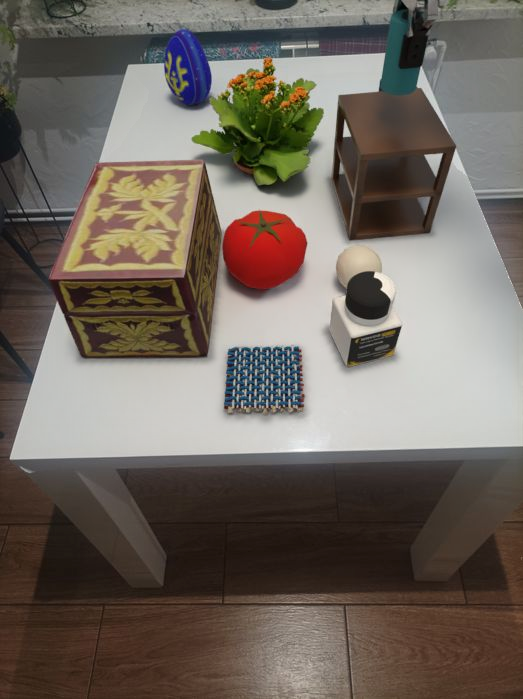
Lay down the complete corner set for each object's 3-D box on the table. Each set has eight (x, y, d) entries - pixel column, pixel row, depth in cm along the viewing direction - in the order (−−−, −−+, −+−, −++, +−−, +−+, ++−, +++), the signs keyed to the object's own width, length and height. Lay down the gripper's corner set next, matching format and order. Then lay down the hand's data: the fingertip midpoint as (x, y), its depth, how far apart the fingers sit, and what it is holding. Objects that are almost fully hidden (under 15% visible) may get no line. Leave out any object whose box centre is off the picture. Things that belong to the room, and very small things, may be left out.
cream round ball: (365, 262, 78) (371, 230, 72) (384, 293, 74) (392, 261, 68) (327, 272, 77) (330, 240, 72) (344, 303, 73) (348, 272, 67)
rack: (402, 172, 92) (421, 87, 79) (429, 233, 81) (456, 145, 69) (331, 179, 92) (338, 94, 79) (349, 240, 81) (361, 154, 68)
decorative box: (119, 233, 85) (91, 157, 73) (222, 231, 84) (211, 153, 72) (81, 358, 69) (36, 286, 57) (207, 357, 68) (190, 284, 56)
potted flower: (179, 187, 93) (160, 95, 79) (215, 124, 106) (204, 37, 92) (305, 201, 88) (309, 107, 74) (325, 134, 102) (332, 44, 88)
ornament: (163, 102, 113) (148, 31, 101) (191, 87, 117) (180, 17, 105) (194, 116, 109) (183, 43, 97) (223, 100, 113) (215, 28, 100)
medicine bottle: (346, 368, 66) (356, 311, 56) (328, 330, 70) (334, 271, 60) (393, 356, 67) (411, 298, 57) (373, 319, 71) (386, 259, 61)
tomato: (222, 301, 74) (214, 250, 66) (227, 248, 81) (220, 196, 73) (307, 300, 74) (310, 248, 65) (305, 246, 81) (307, 193, 72)
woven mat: (305, 415, 62) (305, 407, 60) (224, 415, 62) (222, 408, 60) (302, 350, 68) (302, 342, 66) (228, 351, 68) (227, 343, 67)
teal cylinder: (410, 77, 72) (425, 5, 64) (420, 93, 69) (436, 19, 61) (376, 80, 72) (387, 8, 64) (384, 96, 68) (396, 23, 61)
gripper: (499, -106, 47) (449, 83, 62) (445, -138, 57) (413, 31, 72) (425, -100, 47) (392, 88, 62) (384, -134, 57) (364, 35, 72)
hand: (404, 56), depth 67 cm, fingers closed on teal cylinder, 5 cm apart
